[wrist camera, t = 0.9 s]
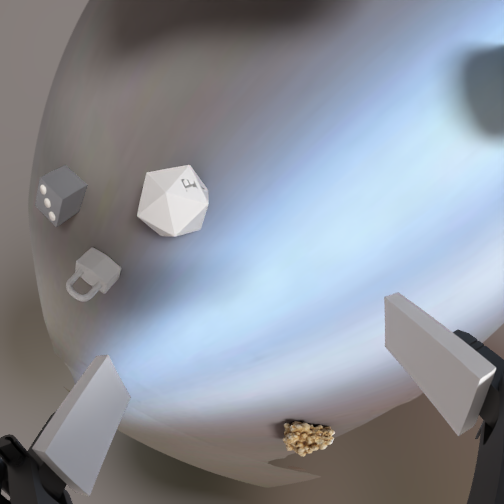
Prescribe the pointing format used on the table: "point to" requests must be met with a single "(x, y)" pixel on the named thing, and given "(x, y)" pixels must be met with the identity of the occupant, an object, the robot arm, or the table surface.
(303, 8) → the table surface
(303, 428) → the mineral formation
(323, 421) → the table surface
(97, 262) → the padlock
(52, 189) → the dotted block
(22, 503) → the robot arm
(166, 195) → the die
